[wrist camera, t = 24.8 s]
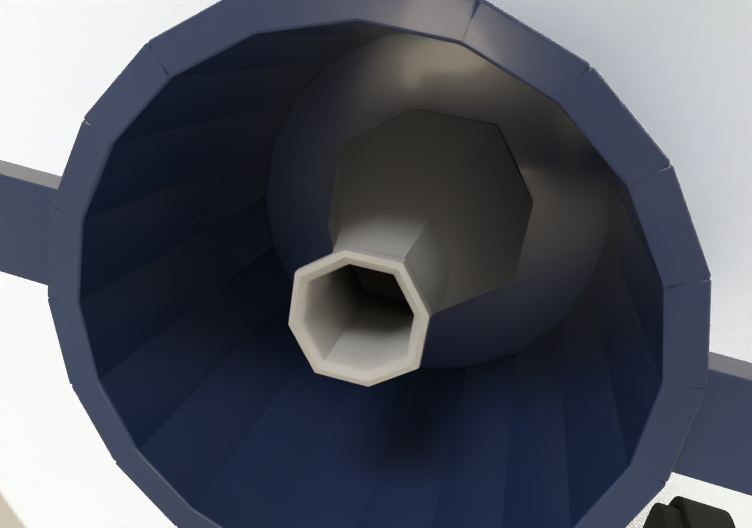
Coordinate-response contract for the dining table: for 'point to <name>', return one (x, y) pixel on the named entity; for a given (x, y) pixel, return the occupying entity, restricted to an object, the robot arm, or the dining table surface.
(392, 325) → the flask
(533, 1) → the dining table surface
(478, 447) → the pot
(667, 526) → the robot arm
